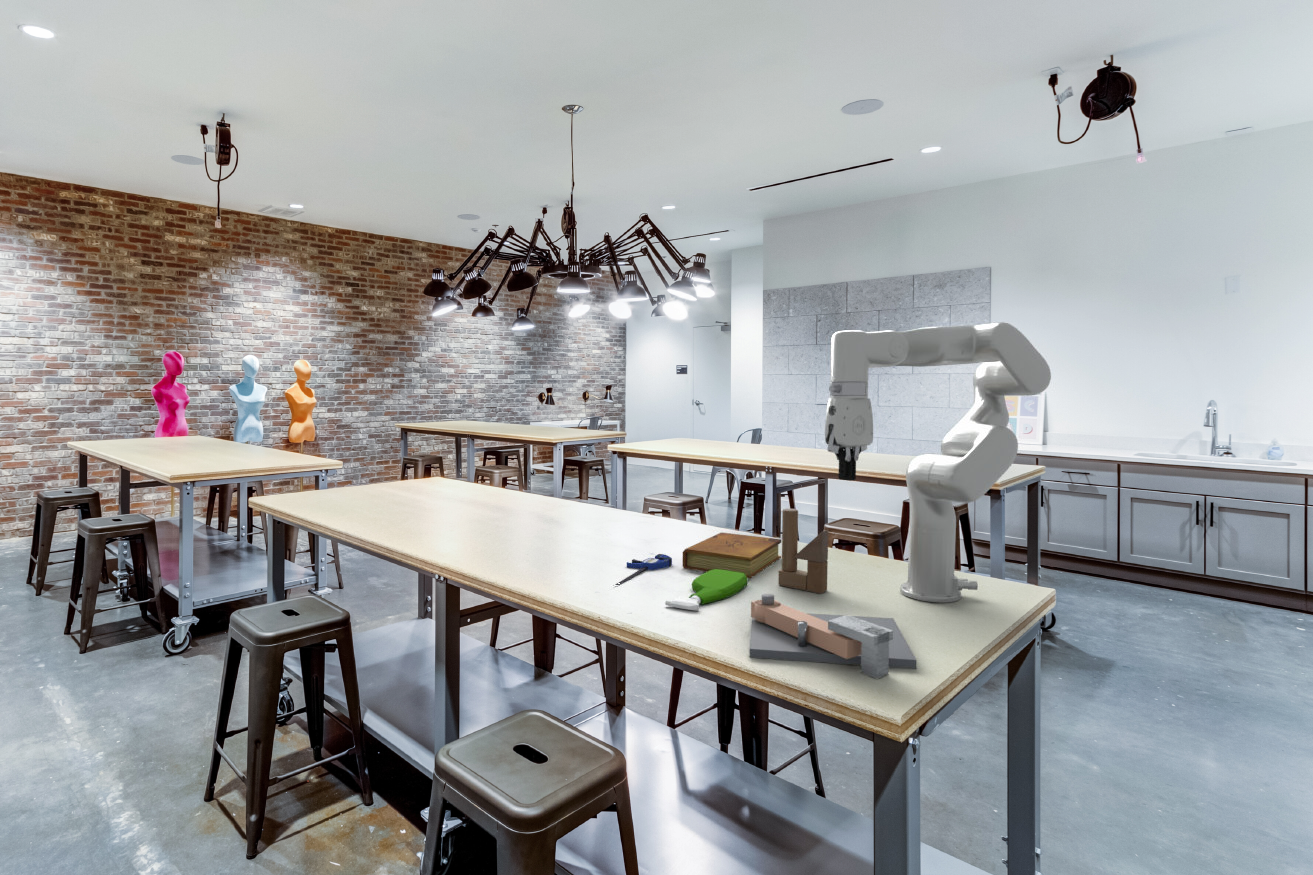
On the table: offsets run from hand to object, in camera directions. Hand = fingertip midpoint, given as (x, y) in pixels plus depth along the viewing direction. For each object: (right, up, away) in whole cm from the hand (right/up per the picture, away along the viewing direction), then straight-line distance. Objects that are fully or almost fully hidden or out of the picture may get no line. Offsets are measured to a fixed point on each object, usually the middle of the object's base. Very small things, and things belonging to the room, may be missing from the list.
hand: (847, 479), depth 135 cm
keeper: (-9, -29, -27) cm, 40 cm away
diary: (-19, -25, +38) cm, 49 cm away
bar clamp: (-46, -26, +25) cm, 59 cm away
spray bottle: (-28, -27, +10) cm, 40 cm away
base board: (-9, -28, -17) cm, 34 cm away
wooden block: (-6, -26, +15) cm, 31 cm away
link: (-14, -26, -19) cm, 35 cm away
